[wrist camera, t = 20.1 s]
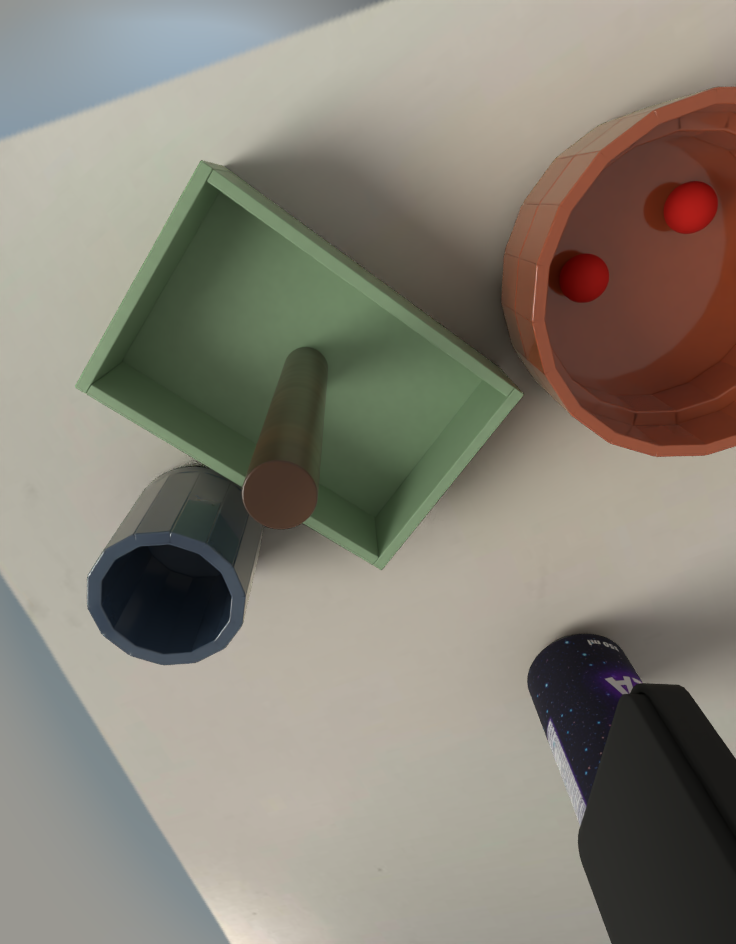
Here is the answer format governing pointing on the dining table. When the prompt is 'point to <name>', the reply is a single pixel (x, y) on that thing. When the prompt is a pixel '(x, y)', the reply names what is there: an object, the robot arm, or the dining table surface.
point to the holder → (177, 569)
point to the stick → (289, 445)
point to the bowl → (635, 280)
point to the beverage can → (579, 704)
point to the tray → (266, 349)
